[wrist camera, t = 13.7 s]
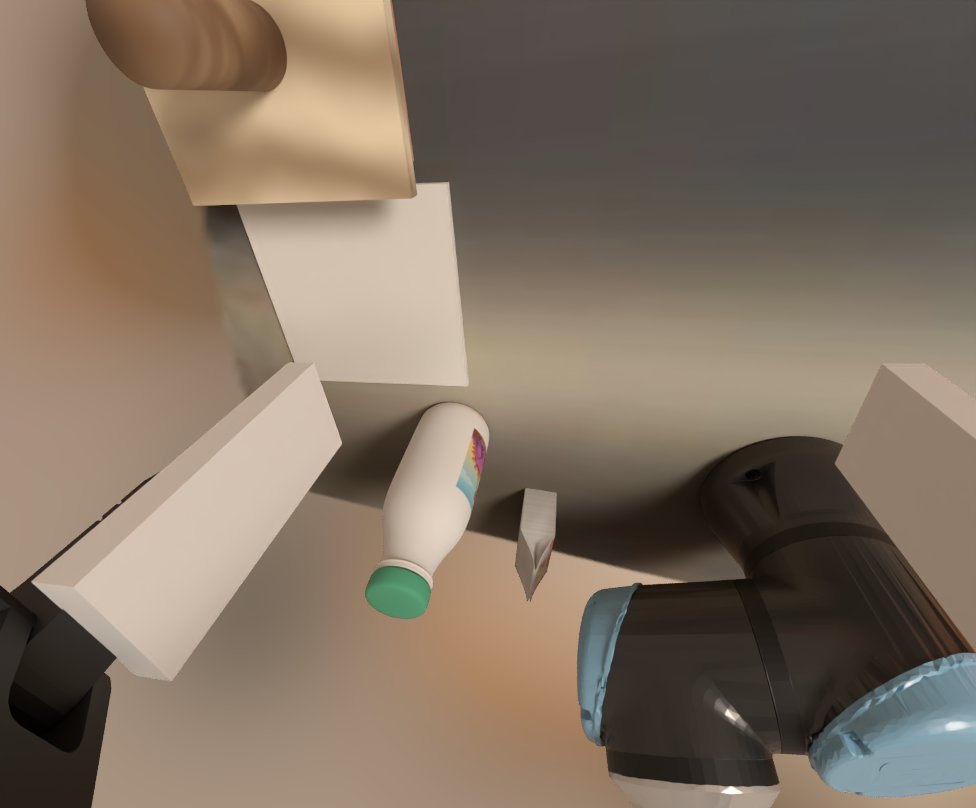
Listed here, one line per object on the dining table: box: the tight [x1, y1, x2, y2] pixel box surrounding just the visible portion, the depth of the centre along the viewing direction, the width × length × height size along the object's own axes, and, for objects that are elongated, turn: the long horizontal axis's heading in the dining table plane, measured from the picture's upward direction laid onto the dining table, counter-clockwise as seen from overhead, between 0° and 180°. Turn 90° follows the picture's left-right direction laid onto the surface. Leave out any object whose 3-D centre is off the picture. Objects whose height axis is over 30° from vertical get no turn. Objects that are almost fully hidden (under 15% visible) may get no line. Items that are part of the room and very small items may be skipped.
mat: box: [236, 182, 469, 386], centre depth 38 cm, size 18×18×1 cm
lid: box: [86, 0, 417, 206], centre depth 21 cm, size 16×16×9 cm
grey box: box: [515, 488, 557, 601], centre depth 48 cm, size 4×7×10 cm, turn 177°
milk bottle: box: [365, 402, 489, 619], centre depth 38 cm, size 8×8×20 cm
